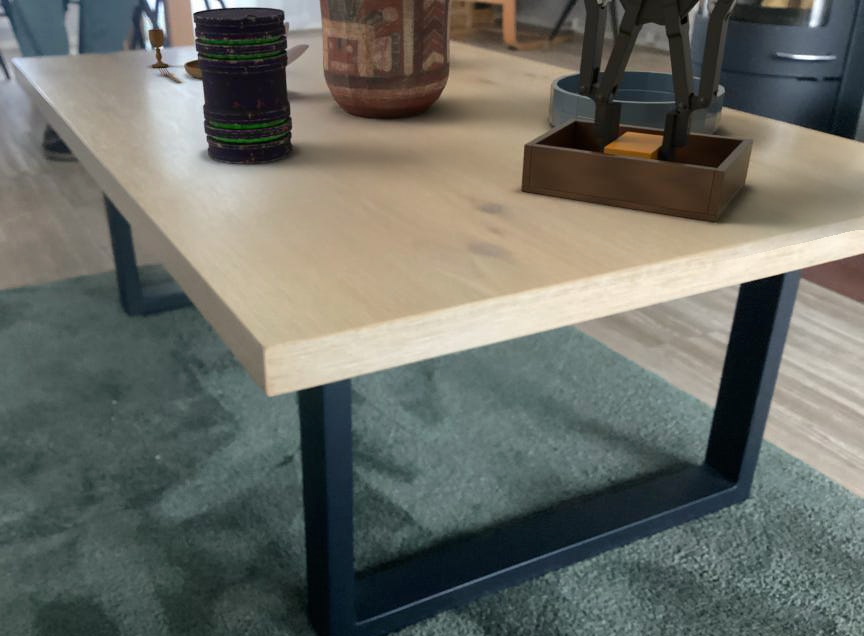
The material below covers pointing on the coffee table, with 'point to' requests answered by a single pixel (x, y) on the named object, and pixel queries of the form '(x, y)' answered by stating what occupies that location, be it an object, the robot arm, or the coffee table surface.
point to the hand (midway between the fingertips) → (634, 174)
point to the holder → (638, 171)
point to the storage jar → (244, 83)
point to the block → (636, 146)
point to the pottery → (386, 54)
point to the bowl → (632, 101)
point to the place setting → (190, 67)
